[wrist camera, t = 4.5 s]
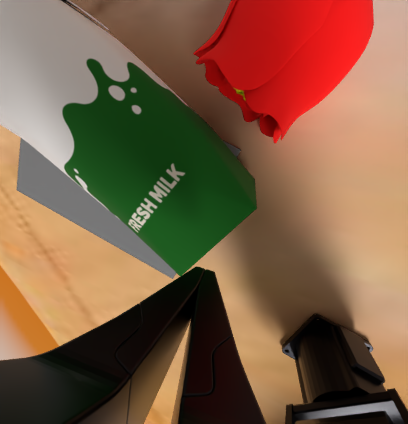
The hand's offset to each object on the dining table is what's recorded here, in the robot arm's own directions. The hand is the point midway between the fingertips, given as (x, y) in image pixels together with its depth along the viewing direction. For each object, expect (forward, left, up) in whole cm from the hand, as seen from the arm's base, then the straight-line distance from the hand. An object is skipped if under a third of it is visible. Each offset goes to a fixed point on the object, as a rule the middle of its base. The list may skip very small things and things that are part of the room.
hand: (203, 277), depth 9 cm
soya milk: (0, 0, -7) cm, 7 cm away
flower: (+11, +2, -12) cm, 16 cm away
